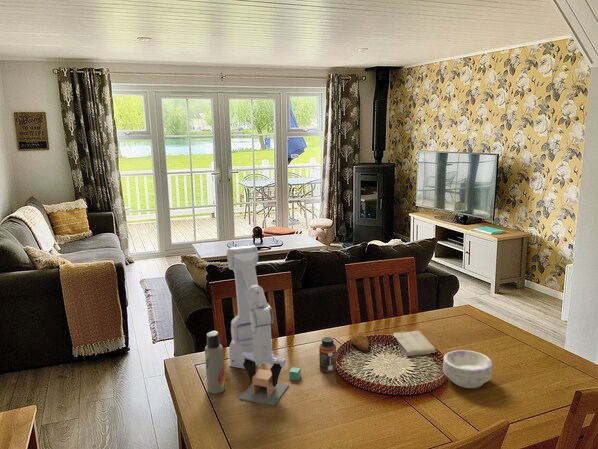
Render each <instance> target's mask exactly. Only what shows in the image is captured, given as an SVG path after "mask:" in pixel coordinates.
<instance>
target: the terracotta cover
mask: <svg viewBox="0 0 598 449" xmlns="http://www.w3.org/2000/svg"><path fill="white" fill-rule="evenodd" d="M252 383H253V394H254V395H255V393H256V392H257V391H258V390H259V389H260V387H265V388H267V397H269V396H270V395H271V394H272V393H273V391H274V390H275V389H276V386H275V387H274V386H273V381H272V373H271V370H268V369H261V368H259V369H258V370H257V371H256V374H255V375H254V376H253V377H252ZM252 383H251V384H252Z"/></svg>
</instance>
